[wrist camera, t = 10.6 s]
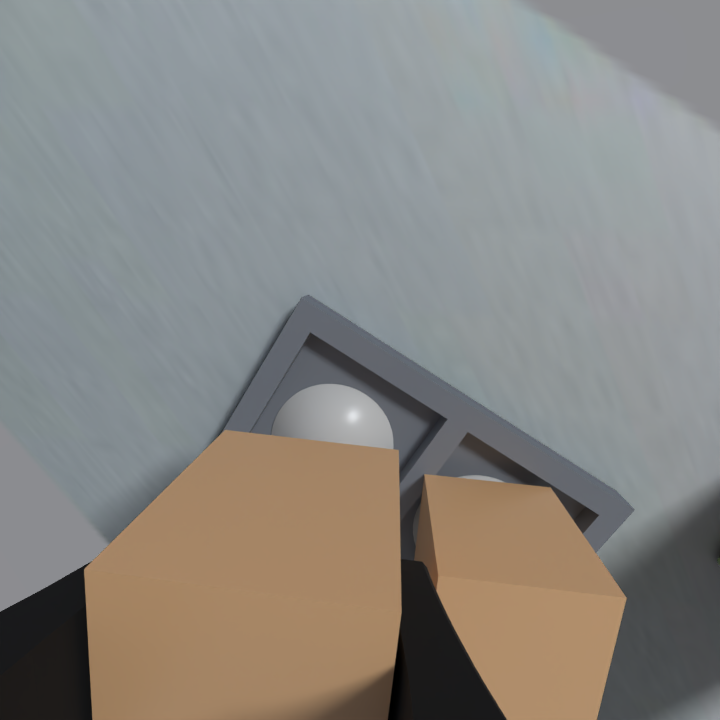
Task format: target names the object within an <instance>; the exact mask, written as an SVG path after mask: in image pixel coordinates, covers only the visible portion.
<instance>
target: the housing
mask: <svg viewBox="0 0 720 720" xmlns="http://www.w3.org/2000/svg"><path fill="white" fill-rule="evenodd" d="M224 430H230V431H239V432H248V433H256V434H265V435H274V436H282V437H291V438H300V439H308V440H317V441H326V442H334V443H343V444H352V445H360V446H369V447H378V448H386V449H395V450H399V489H400V549H401V559H406V560H414V557H415V549H416V540H417V532H418V523H419V515H420V506H421V498H422V490H423V481H424V474H428V475H438V476H447V477H457V478H466V479H476V480H485V481H495V482H504V483H514V484H523V485H532V486H542V487H551V489H552V490H553V491H554V493H555V494H556V496H557V497H558V499H559V500H560V502H561V503H562V505H563V506H564V507H565V509H566V510H567V512H568V513H569V515H570V516H571V518H572V519H573V521H574V522H575V523H576V525H577V526H578V528H579V529H580V531H581V532H582V534H583V535H584V537H585V538H586V539H587V541H588V542H589V544H590V545H591V547H592V548H593V550H594V551H595V553H596V552H597V551H598V550H599V549H600V548H601V547H602V546H603V544H604V543H605V542H606V541H607V540H608V539H609V538H610V537H611V536H612V534H613V533H614V532H615V531H616V530H617V529H618V528H619V527H620V526H621V524H622V523H623V522H624V521H625V520H626V519H627V518H628V517H629V516H630V514H631V513H632V512H633V511H634V508H633V507H632V506H631V505H630V504H629V503H628V502H627V501H626V500H625V499H624V498H623V497H622V496H621V495H620V494H619V493H618V492H617V491H616V490H614V489H612V488H611V487H609V486H608V485H606V484H605V483H603V482H601V481H600V480H598V479H597V478H595V477H594V476H592V475H590V474H589V473H587V472H586V471H584V470H583V469H581V468H579V467H578V466H576V465H575V464H573V463H572V462H570V461H568V460H567V459H565V458H564V457H562V456H561V455H559V454H558V453H556V452H554V451H553V450H551V449H550V448H548V447H547V446H545V445H543V444H542V443H540V442H539V441H537V440H536V439H534V438H532V437H531V436H529V435H528V434H526V433H525V432H523V431H521V430H520V429H518V428H517V427H515V426H514V425H512V424H510V423H509V422H507V421H506V420H504V419H503V418H501V417H499V416H498V415H496V414H495V413H493V412H492V411H490V410H488V409H487V408H485V407H484V406H482V405H481V404H479V403H477V402H476V401H474V400H473V399H471V398H470V397H468V396H467V395H465V394H463V393H462V392H460V391H459V390H457V389H456V388H454V387H452V386H451V385H449V384H448V383H446V382H445V381H443V380H441V379H440V378H438V377H437V376H435V375H434V374H432V373H430V372H429V371H427V370H426V369H424V368H423V367H421V366H419V365H418V364H416V363H415V362H413V361H412V360H410V359H408V358H407V357H405V356H404V355H402V354H401V353H399V352H397V351H396V350H394V349H393V348H391V347H390V346H388V345H387V344H385V343H383V342H382V341H380V340H379V339H377V338H376V337H374V336H372V335H371V334H369V333H368V332H366V331H365V330H363V329H361V328H360V327H358V326H357V325H355V324H354V323H352V322H350V321H349V320H347V319H346V318H344V317H343V316H341V315H339V314H338V313H336V312H335V311H333V310H332V309H330V308H328V307H327V306H325V305H324V304H322V303H321V302H319V301H317V300H316V299H314V298H313V297H311V296H310V295H307V296H304V297H302V298H301V299H300V301H299V303H298V304H297V306H296V308H295V309H294V311H293V313H292V315H291V316H290V318H289V320H288V321H287V323H286V325H285V326H284V328H283V330H282V331H281V333H280V335H279V337H278V338H277V340H276V342H275V343H274V345H273V347H272V348H271V350H270V352H269V353H268V355H267V357H266V359H265V360H264V362H263V364H262V365H261V367H260V369H259V370H258V372H257V374H256V375H255V377H254V379H253V381H252V382H251V384H250V386H249V387H248V389H247V391H246V392H245V394H244V396H243V397H242V399H241V401H240V402H239V404H238V406H237V408H236V409H235V411H234V413H233V414H232V416H231V418H230V419H229V421H228V423H227V424H226V426H225V428H224ZM224 430H223V431H224ZM223 431H222V432H223Z"/></svg>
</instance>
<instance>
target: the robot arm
mask: <svg viewBox="0 0 720 720" xmlns="http://www.w3.org/2000/svg"><path fill="white" fill-rule="evenodd" d="M90 563H91V562H90ZM90 563H88V564H86V565H84V566H83V567H81V568H79V569H77V570H76V571H74V572H72V573H70V574H69V575H67V576H65V577H64V578H62V579H60V580H58V581H57V582H55V583H53V584H51V585H50V586H48V587H46V588H44V589H42V590H41V591H39V592H37V593H35V594H33V595H31V596H30V597H27V598H25V599H24V600H22V601H20V602H18V603H16V604H14V605H12V606H10V607H8V608H7V609H5V610H3V611H1V612H0V720H92V702H91V684H90V666H89V648H88V631H87V613H86V595H85V577H84V569H85V568H86V567H87V566H88V565H89V564H90ZM401 608H402V613H401V621H400V628H399V636H398V644H397V652H396V659H395V667H394V675H393V682H392V690H391V698H390V706H389V713H388V720H507V719H506V717H505V716H504V714H503V712H502V711H501V709H500V708H499V706H498V704H497V703H496V701H495V699H494V698H493V696H492V694H491V693H490V691H489V690H488V688H487V686H486V685H485V683H484V681H483V680H482V678H481V676H480V674H479V673H478V671H477V669H476V667H475V666H474V664H473V662H472V660H471V659H470V657H469V655H468V653H467V651H466V649H465V647H464V646H463V644H462V642H461V640H460V638H459V636H458V634H457V633H456V631H455V629H454V627H453V625H452V623H451V621H450V619H449V617H448V615H447V613H446V611H445V609H444V606H443V604H442V602H441V600H440V598H439V596H438V593H437V591H436V589H435V587H434V584H433V582H432V579H431V577H430V574H429V572H428V569H427V567H426V566H425V564H424V563H423V562H421V561H414V560H406V559H401Z"/></svg>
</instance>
